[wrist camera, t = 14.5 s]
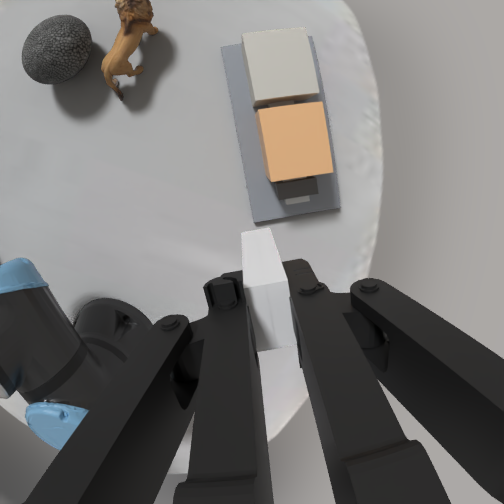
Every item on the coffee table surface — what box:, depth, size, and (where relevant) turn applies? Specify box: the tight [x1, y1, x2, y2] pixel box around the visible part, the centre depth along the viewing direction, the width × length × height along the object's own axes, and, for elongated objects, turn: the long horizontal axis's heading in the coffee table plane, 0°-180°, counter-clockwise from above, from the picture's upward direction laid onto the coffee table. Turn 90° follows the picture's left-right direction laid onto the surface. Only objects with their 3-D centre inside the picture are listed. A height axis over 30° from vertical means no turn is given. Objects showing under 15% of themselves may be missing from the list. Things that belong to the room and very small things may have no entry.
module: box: [255, 101, 333, 182], centre depth 36 cm, size 7×8×7 cm
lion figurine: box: [101, 0, 158, 101], centre depth 31 cm, size 15×5×9 cm, turn 168°
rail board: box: [221, 27, 341, 223], centre depth 36 cm, size 12×24×8 cm, turn 10°
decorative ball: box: [22, 15, 92, 84], centre depth 29 cm, size 10×10×10 cm
